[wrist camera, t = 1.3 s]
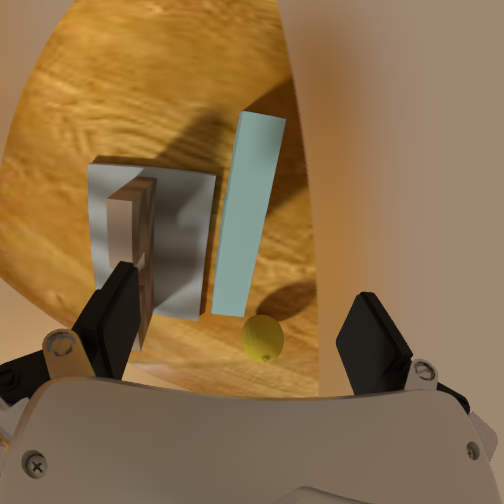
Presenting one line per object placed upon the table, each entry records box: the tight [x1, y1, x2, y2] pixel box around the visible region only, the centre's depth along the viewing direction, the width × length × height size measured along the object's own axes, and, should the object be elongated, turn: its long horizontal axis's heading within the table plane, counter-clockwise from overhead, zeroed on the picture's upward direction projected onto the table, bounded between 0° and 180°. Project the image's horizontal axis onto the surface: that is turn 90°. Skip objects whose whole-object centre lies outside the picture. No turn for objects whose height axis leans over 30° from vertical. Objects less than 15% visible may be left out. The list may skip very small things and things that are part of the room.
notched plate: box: [211, 111, 286, 317], centre depth 23 cm, size 14×2×14 cm, turn 170°
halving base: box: [88, 162, 217, 352], centre depth 29 cm, size 20×15×9 cm
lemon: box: [241, 315, 284, 363], centre depth 35 cm, size 6×6×8 cm
